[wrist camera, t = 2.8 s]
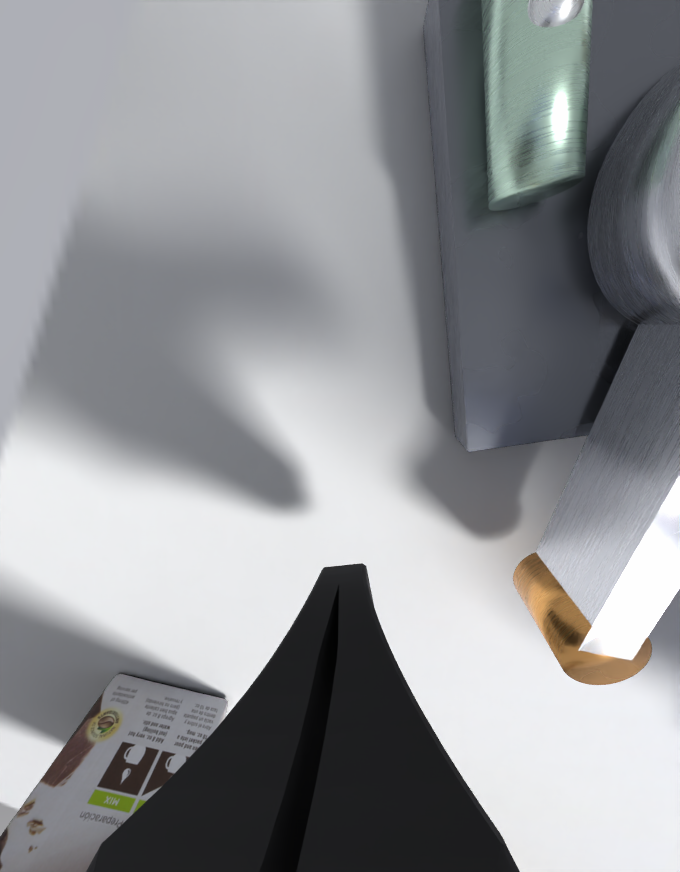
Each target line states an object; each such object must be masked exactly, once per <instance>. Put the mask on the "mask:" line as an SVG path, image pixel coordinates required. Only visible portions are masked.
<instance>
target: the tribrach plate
mask: <svg viewBox="0 0 680 872" xmlns="http://www.w3.org/2000/svg"><path fill="white" fill-rule="evenodd" d="M423 29H424V42H425V55H426V67H427V80H428V93H429V106H430V119H431V132H432V145H433V157H434V170H435V183H436V196H437V209H438V222H439V234H440V247H441V260H442V273H443V286H444V299H445V311H446V324H447V337H448V350H449V363H450V376H451V389H452V401H453V414H454V427H455V437H456V438H457V439H458V440H459V441H460V443H461V444H462V445H463V446H464V448H465V449H466V450H467V451H468V452H472V451H479V450H486V449H493V448H500V447H507V446H514V445H521V444H528V443H535V442H542V441H549V440H556V439H564V438H571V437H578V436H585V435H589V433H590V431H591V428H592V426H593V424H594V422H595V420H596V417H597V415H598V413H599V411H600V408H601V406H602V404H603V402H604V400H605V397H606V395H607V393H608V391H609V389H610V386H611V384H612V382H613V380H614V377H615V375H616V373H617V371H618V369H619V366H620V364H621V362H622V360H623V357H624V355H625V353H626V351H627V349H628V346H629V344H630V342H631V340H632V337H633V335H634V333H635V331H636V329H637V326H638V325H637V324H635V323H633V322H632V321H630V320H629V319H627V318H626V317H624V316H623V315H622V314H620V313H619V312H618V311H617V310H616V309H615V308H614V307H613V306H612V305H611V304H610V302H609V301H608V300H607V299H606V297H605V296H604V295H603V293H602V291H601V289H600V287H599V285H598V284H597V282H596V279H595V276H594V273H593V270H592V268H591V263H590V258H589V253H588V240H587V228H588V214H589V209H590V203H591V198H592V193H593V190H594V187H595V184H596V180H597V177H598V174H599V171H600V169H601V167H602V164H603V162H604V159H605V157H606V155H607V153H608V151H609V149H610V147H611V145H612V143H613V141H614V140H615V138H616V136H617V134H618V132H619V131H620V129H621V128H622V126H623V125H624V123H625V122H626V120H627V119H628V117H629V116H630V114H631V113H632V112H633V110H634V109H635V108H636V107H637V105H638V104H639V103H640V102H641V100H642V99H643V98H644V97H645V95H646V94H647V93H648V92H649V91H650V90H651V89H652V88H653V87H654V86H655V85H656V84H657V83H658V82H659V81H660V80H661V79H662V78H663V77H664V76H665V75H666V74H667V73H668V72H669V71H671V70H672V69H673V68H674V67H675V66H676V65H678V64H679V63H680V0H429V1H428V6H427V11H426V16H425V20H424V25H423Z"/></svg>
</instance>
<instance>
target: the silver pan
mask: <svg viewBox="0 0 680 872" xmlns="http://www.w3.org/2000/svg"><path fill="white" fill-rule="evenodd" d="M587 240H588V253H589V258H590V263H591V268H592V270H593V273H594V276H595V279H596V282H597V284H598V285H599V287H600V289H601V291H602V293H603V295H604V296H605V297H606V299H607V300H608V301H609V302H610V304H611V305H612V306H613V307H614V308H615V309H616V310H617V311H618V312H619V313H620V314H622V315H623V316H624V317H626V318H627V319H629V320H630V321H632V322H633V323H635V324H637V325H638V326H637V329H636V331H635V333H634V335H633V337H632V340H631V342H630V344H629V346H628V349H627V351H626V353H625V355H624V357H623V360H622V362H621V364H620V366H619V369H618V371H617V373H616V375H615V377H614V380H613V382H612V384H611V386H610V389H609V391H608V393H607V395H606V397H605V400H604V402H603V404H602V406H601V408H600V411H599V413H598V415H597V417H596V420H595V422H594V424H593V426H592V428H591V431H590V433H589V435H588V437H587V440H586V442H585V444H584V446H583V448H582V451H581V453H580V455H579V457H578V460H577V462H576V464H575V466H574V468H573V471H572V473H571V475H570V477H569V480H568V482H567V484H566V486H565V488H564V491H563V493H562V495H561V497H560V499H559V502H558V504H557V506H556V508H555V511H554V513H553V515H552V517H551V519H550V522H549V524H548V526H547V528H546V531H545V533H544V535H543V537H542V539H541V542H540V544H539V546H538V548H537V551H536V552H535V553H533V554H531V555H529V556H527V557H526V558H524V559H523V560H522V561H521V562H520V563H519V565H518V566H517V567H516V569H515V572H514V576H513V581H514V585H515V588H516V589H517V591H518V593H519V595H520V596H521V598H522V600H523V601H524V603H525V605H526V607H527V608H528V610H529V612H530V614H531V615H532V617H533V619H534V620H535V622H536V624H537V626H538V627H539V629H540V631H541V632H542V634H543V636H544V638H545V639H546V641H547V643H548V645H549V646H550V648H551V650H552V651H553V653H554V655H555V657H556V658H557V660H558V662H559V664H560V665H561V667H562V669H563V670H564V672H565V673H566V674H567V675H568V676H569V677H571V678H572V679H574V680H576V681H579V682H582V683H585V684H591V685H606V684H612V683H617V682H620V681H623V680H625V679H628V678H630V677H632V676H633V675H635V674H637V673H638V672H639V671H640V670H641V669H642V668H644V666H645V665H646V664H647V663H648V661H649V659H650V657H651V653H652V645H651V642H650V640H649V638H648V635H649V634H650V632H651V631H652V629H653V628H654V626H655V625H656V623H657V622H658V620H659V619H660V617H661V616H662V614H663V613H664V611H665V610H666V608H667V607H668V605H669V604H670V602H671V601H672V599H673V597H674V596H675V594H676V593H677V591H678V590H679V588H680V63H679V64H678V65H676V66H675V67H674V68H673V69H672V70H671V71H669V72H668V73H667V74H666V75H665V76H664V77H663V78H662V79H661V80H660V81H659V82H658V83H657V84H656V85H655V86H654V87H653V88H652V89H651V90H650V91H649V92H648V93H647V94H646V95H645V97H644V98H643V99H642V100H641V102H640V103H639V104H638V105H637V107H636V108H635V109H634V110H633V112H632V113H631V114H630V116H629V117H628V119H627V120H626V122H625V123H624V125H623V126H622V128H621V129H620V131H619V132H618V134H617V136H616V138H615V140H614V141H613V143H612V145H611V147H610V149H609V151H608V153H607V155H606V157H605V159H604V162H603V164H602V167H601V169H600V171H599V174H598V177H597V180H596V184H595V187H594V190H593V193H592V198H591V203H590V209H589V214H588V228H587Z"/></svg>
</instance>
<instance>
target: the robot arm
mask: <svg viewBox="0 0 680 872" xmlns="http://www.w3.org/2000/svg"><path fill="white" fill-rule="evenodd" d="M86 872H520V871H519V869H518V867H517V866H516V864H515V862H514V860H513V858H512V856H511V854H510V852H509V850H508V848H507V846H506V844H505V841H504V839H503V837H502V836H501V834H500V833H499V831H498V830H497V828H496V827H495V825H494V824H493V822H492V821H491V820H490V818H489V817H488V815H487V814H486V812H485V811H484V809H483V808H482V806H481V805H480V803H479V802H478V800H477V799H476V797H475V796H474V794H473V793H472V791H471V790H470V788H469V787H468V785H467V784H466V782H465V781H464V779H463V778H462V776H461V774H460V773H459V771H458V770H457V768H456V767H455V765H454V763H453V762H452V760H451V759H450V757H449V755H448V754H447V752H446V751H445V749H444V747H443V746H442V744H441V742H440V741H439V739H438V737H437V736H436V734H435V732H434V730H433V729H432V727H431V725H430V724H429V722H428V720H427V719H426V717H425V715H424V713H423V712H422V710H421V708H420V707H419V705H418V703H417V701H416V699H415V697H414V695H413V694H412V692H411V690H410V688H409V686H408V684H407V682H406V680H405V678H404V676H403V674H402V672H401V670H400V668H399V666H398V664H397V662H396V660H395V658H394V656H393V653H392V651H391V649H390V647H389V644H388V642H387V640H386V637H385V635H384V633H383V630H382V628H381V625H380V623H379V620H378V617H377V614H376V611H375V609H374V604H373V599H372V594H371V589H370V584H369V578H368V573H367V568H366V566H365V565H364V564H352V565H343V566H333V567H324V569H323V570H322V571H321V573H320V575H319V577H318V579H317V581H316V583H315V585H314V587H313V589H312V591H311V593H310V595H309V597H308V599H307V600H306V602H305V604H304V606H303V608H302V609H301V611H300V613H299V615H298V616H297V618H296V620H295V621H294V623H293V625H292V627H291V628H290V630H289V631H288V633H287V634H286V636H285V638H284V639H283V641H282V642H281V644H280V645H279V647H278V648H277V650H276V652H275V653H274V655H273V656H272V658H271V659H270V660H269V662H268V663H267V665H266V666H265V668H264V669H263V670H262V672H261V673H260V674H259V676H258V677H257V678H256V680H255V681H254V682H253V684H252V685H251V686H250V688H249V689H248V690H247V692H246V693H245V694H244V695H243V697H242V698H241V699H240V700H239V702H238V703H237V704H236V705H235V706H234V708H233V709H232V710H231V711H230V713H229V714H228V715H227V716H226V718H225V719H224V720H223V721H222V722H221V723H220V725H219V726H218V727H217V728H216V729H215V730H214V731H213V733H212V734H211V735H210V736H209V737H208V738H207V739H206V740H205V741H204V742H203V743H202V745H201V746H200V747H199V748H198V749H197V750H196V751H195V752H194V753H193V754H192V755H191V756H190V757H189V758H188V760H187V761H186V762H185V763H184V764H183V765H182V766H181V767H180V768H179V769H178V770H177V771H176V772H175V773H174V774H173V775H172V777H171V778H170V779H169V780H168V781H167V782H166V783H165V784H164V785H163V786H162V787H161V788H160V789H159V790H158V791H156V792H155V793H154V794H153V795H152V796H151V797H150V798H149V799H148V800H147V801H146V802H145V803H144V804H143V805H142V806H141V807H140V808H139V809H138V810H137V811H135V812H134V813H133V814H132V815H131V816H130V817H129V818H128V819H127V820H126V821H125V822H124V823H123V824H122V825H121V826H120V827H119V828H118V829H117V830H116V831H114V832H113V833H112V834H111V835H110V836H109V837H108V838H107V839H106V840H105V841H103V842H102V844H101V845H100V847H99V849H98V851H97V853H96V854H95V856H94V858H93V860H92V862H91V863H90V865H89V867H88V869H87V871H86Z"/></svg>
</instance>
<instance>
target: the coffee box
mask: <svg viewBox="0 0 680 872" xmlns="http://www.w3.org/2000/svg"><path fill="white" fill-rule="evenodd" d="M227 706H228V701H227V700H225V699H223V698H219V697H215V696H210V695H205V694H201V693H197V692H193V691H189V690H185V689H181V688H176V687H172V686H168V685H164V684H160V683H156V682H152V681H148V680H144V679H140V678H136V677H132V676H128V675H124V674H118V675H116V676H115V677H114V678H113V679H112V680H111V682H110V683H109V684H108V686H107V687H106V688H105V690H104V691H103V693H102V694H101V696H100V697H99V699H98V700H97V701H96V703H95V704H94V706H93V707H92V708H91V710H90V711H89V713H88V714H87V715H86V717H85V718H84V720H83V721H82V722H81V724H80V725H79V727H78V728H77V729H76V731H75V732H74V734H73V735H72V737H71V738H70V739H69V741H68V742H67V744H66V745H65V746H64V748H63V749H62V751H61V752H60V753H59V755H58V756H57V758H56V759H55V760H54V762H53V763H52V765H51V766H50V768H49V769H48V770H47V772H46V773H45V775H44V776H43V778H42V779H41V780H40V782H39V783H38V784H37V786H36V787H35V788H34V790H33V791H32V792H31V794H30V795H29V797H28V798H27V800H26V801H25V802H24V804H23V805H22V807H21V808H20V810H19V811H18V812H17V814H16V815H15V816H14V818H13V819H12V820H11V822H10V823H9V825H8V826H7V828H6V829H5V831H4V832H3V834H2V835H1V836H0V872H86V871H87V869H88V867H89V865H90V863H91V862H92V860H93V858H94V856H95V854H96V853H97V851H98V849H99V847H100V845H101V844H102V842H103V841H105V840H106V839H107V838H108V837H109V836H110V835H111V834H112V833H113V832H114V831H116V830H117V829H118V828H119V827H120V826H121V825H122V824H123V823H124V822H125V821H126V820H127V819H128V818H129V817H130V816H131V815H132V814H133V813H134V812H135V811H137V810H138V809H139V808H140V807H141V806H142V805H143V804H144V803H145V802H146V801H147V800H148V799H149V798H150V797H151V796H152V795H153V794H154V793H155V792H156V791H158V790H159V789H160V788H161V787H162V786H163V785H164V784H165V783H166V782H167V781H168V780H169V779H170V778H171V777H172V775H173V774H174V773H175V772H176V771H177V770H178V769H179V768H180V767H181V766H182V765H183V764H184V763H185V762H186V761H187V760H188V758H189V757H190V756H191V755H192V754H193V753H194V752H195V751H196V750H197V749H198V748H199V747H200V746H201V745H202V743H203V742H204V741H205V740H206V739H207V738H208V737H209V736H210V735H211V734H212V733H213V731H214V730H215V729H216V728H217V727H218V726H219V725H220V723H221V722H222V721H223V720H224V719H225V718H226V712H227Z"/></svg>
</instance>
